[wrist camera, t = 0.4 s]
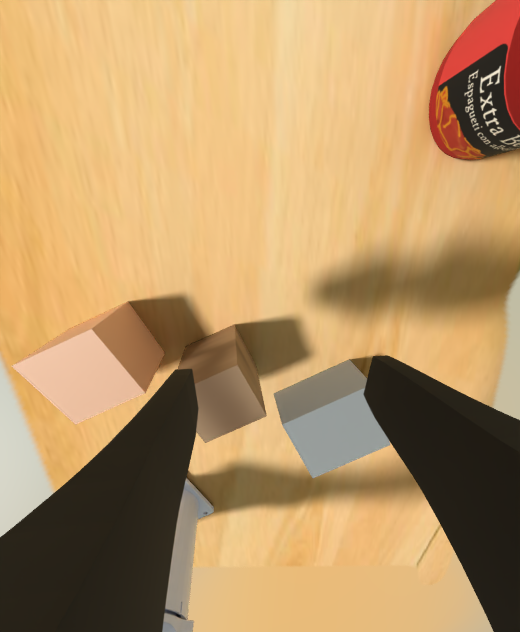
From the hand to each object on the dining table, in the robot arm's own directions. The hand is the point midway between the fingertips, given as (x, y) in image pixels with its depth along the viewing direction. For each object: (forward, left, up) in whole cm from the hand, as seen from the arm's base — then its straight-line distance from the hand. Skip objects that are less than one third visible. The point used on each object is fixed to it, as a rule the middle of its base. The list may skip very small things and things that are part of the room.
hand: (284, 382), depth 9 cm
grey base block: (+2, -13, -10) cm, 17 cm away
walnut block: (-5, -3, -10) cm, 11 cm away
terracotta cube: (-11, +2, -10) cm, 15 cm away
